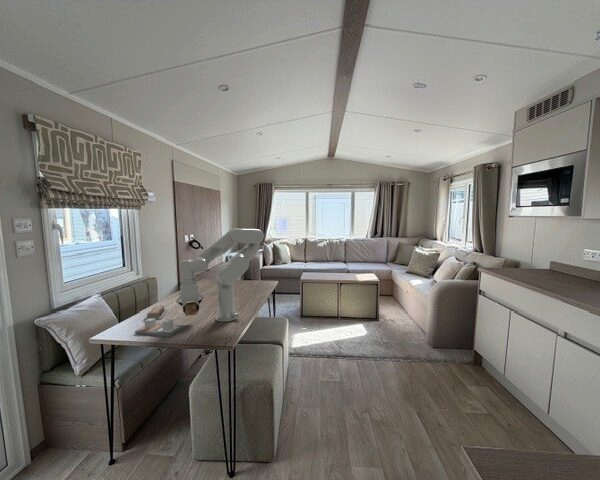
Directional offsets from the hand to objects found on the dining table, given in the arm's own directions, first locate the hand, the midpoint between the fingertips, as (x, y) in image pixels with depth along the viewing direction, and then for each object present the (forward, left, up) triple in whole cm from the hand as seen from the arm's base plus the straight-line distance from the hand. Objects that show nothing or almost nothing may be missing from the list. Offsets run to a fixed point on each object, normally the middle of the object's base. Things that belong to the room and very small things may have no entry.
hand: (191, 311), depth 170 cm
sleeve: (0, 0, -1) cm, 1 cm away
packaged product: (+31, -9, -8) cm, 33 cm away
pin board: (+11, +14, -7) cm, 19 cm away
